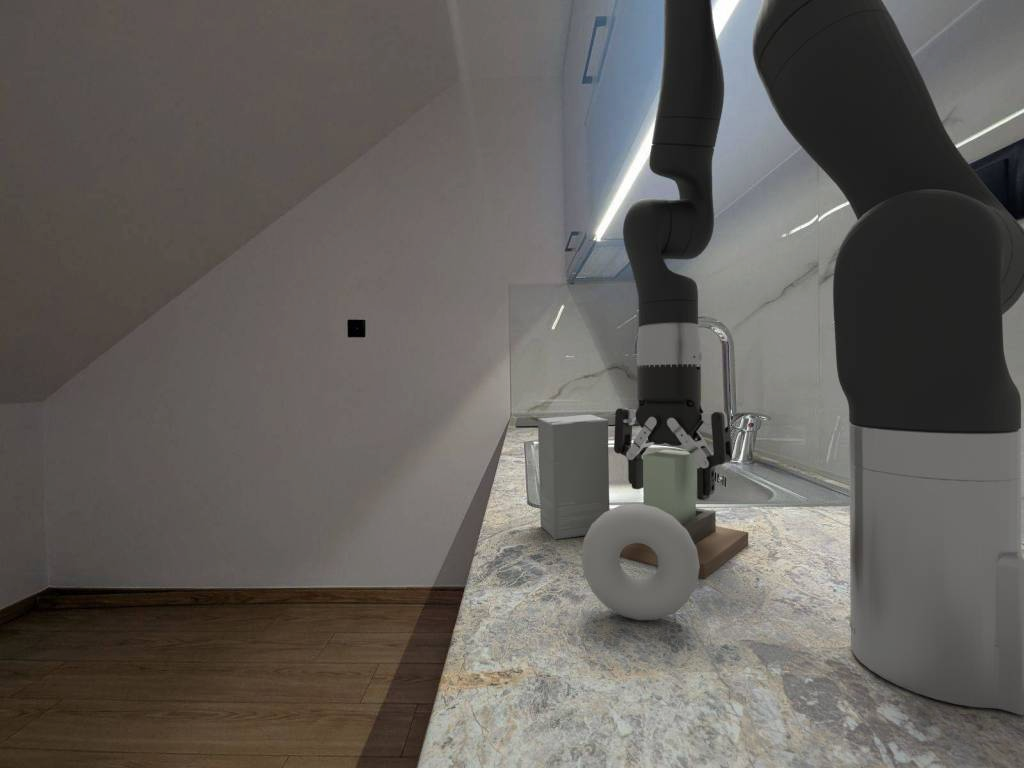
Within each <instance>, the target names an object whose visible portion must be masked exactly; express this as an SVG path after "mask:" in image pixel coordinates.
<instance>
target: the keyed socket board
mask: <svg viewBox="0 0 1024 768" xmlns="http://www.w3.org/2000/svg"><path fill="white" fill-rule="evenodd" d="M716 517H717V515H716V511H714V510H708V509H704V508H698V507H696V516H695V517H694V518H692V519H690V520H688V521H686V522H684V523H682V524H681V525H682V526H683V527H684V528H685V529H686V530H687V531H688V533H689V535H690V537H691V539H692V540H693V542H694V544H695V546H696V548H697V554H698V560H699V565H700V568H699V574H698V578H701V579H706V578H707V577H709V576H710V575H711V574H712V573H714V572H715V571H716V570H718V569H719V568H721V566H722V565H724V564H725V563H727V561H729V560H730V559H731V558H733V557H734V556H735V555H737V554H738V553H739V552H740V551H742V550H743V549H744V548H746V547H747V546H748V545H749V532H748V531H744V530H738V529H735V528H734V529H732V528H728V527H722V526H718V525H716V524H717V523H716V521H717V520H716ZM620 557H622V558H626V559H629V560H634V561H637V562H641V563H645V564H649V565H652V566H656V567H658V564H659V562H658V557H657V555H656V553H655V552H654V551H653V550H652V549H651V548H650V547H648V546H647V545H645V544H641V543H632V544H629V545H627V546H626V547H624V548H623V549H622V551H621V553H620Z"/></svg>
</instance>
